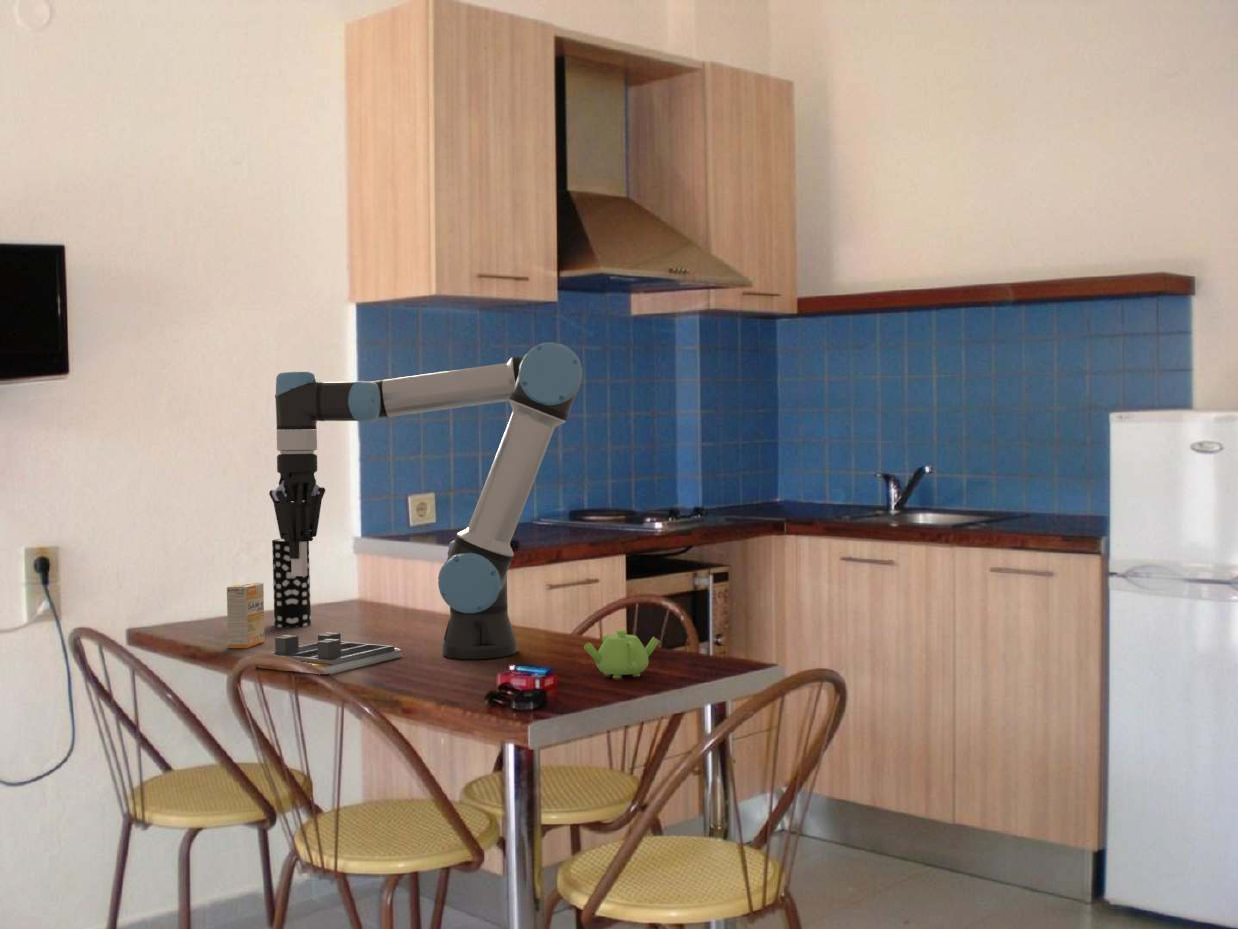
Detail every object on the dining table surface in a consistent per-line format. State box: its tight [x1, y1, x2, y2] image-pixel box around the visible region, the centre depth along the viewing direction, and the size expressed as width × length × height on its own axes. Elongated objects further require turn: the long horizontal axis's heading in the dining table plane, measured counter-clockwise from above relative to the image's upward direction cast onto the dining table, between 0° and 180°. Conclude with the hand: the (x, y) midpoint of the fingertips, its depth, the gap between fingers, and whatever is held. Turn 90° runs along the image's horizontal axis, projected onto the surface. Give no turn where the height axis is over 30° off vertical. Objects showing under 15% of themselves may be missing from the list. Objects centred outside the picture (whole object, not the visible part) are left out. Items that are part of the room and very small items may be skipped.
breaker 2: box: [316, 639, 342, 660], centre depth 264 cm, size 3×4×4 cm
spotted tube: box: [271, 538, 312, 629], centre depth 323 cm, size 8×8×20 cm
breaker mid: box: [317, 631, 342, 641], centre depth 272 cm, size 3×4×4 cm
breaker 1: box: [274, 634, 300, 655], centre depth 269 cm, size 3×4×4 cm
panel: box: [270, 641, 403, 675], centre depth 272 cm, size 18×22×2 cm
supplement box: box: [226, 582, 265, 649], centre depth 294 cm, size 8×5×13 cm, turn 168°
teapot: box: [583, 629, 661, 678], centre depth 252 cm, size 11×12×8 cm
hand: (299, 575), depth 265 cm, fingers closed
